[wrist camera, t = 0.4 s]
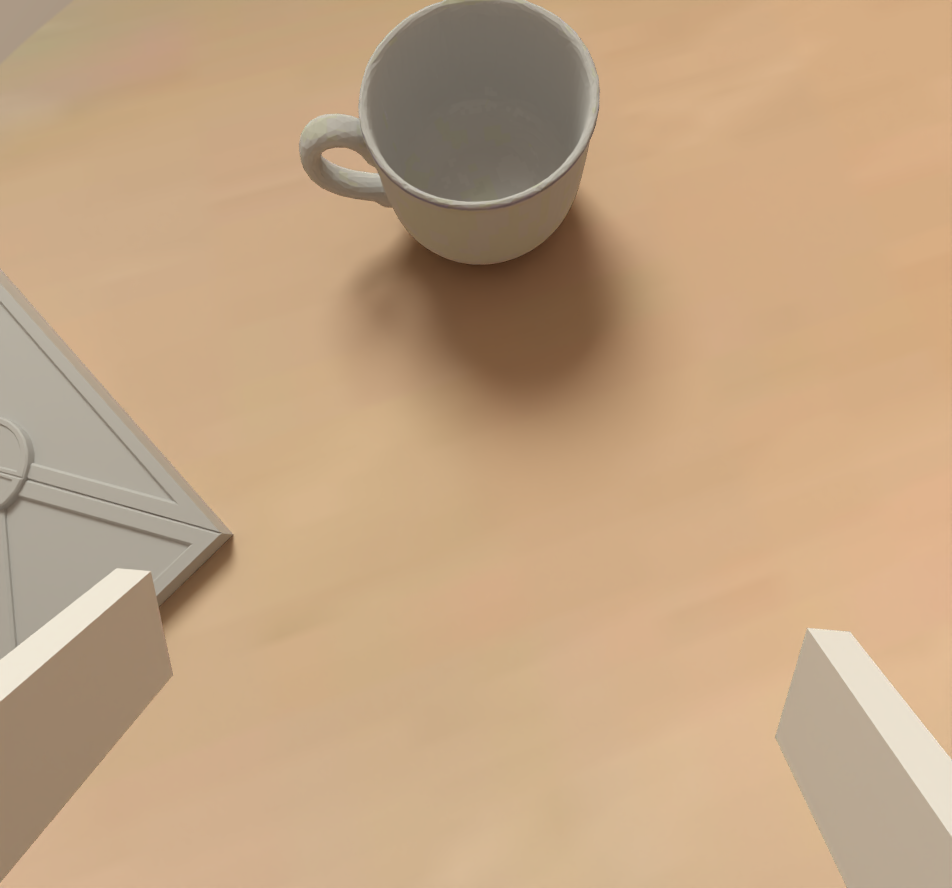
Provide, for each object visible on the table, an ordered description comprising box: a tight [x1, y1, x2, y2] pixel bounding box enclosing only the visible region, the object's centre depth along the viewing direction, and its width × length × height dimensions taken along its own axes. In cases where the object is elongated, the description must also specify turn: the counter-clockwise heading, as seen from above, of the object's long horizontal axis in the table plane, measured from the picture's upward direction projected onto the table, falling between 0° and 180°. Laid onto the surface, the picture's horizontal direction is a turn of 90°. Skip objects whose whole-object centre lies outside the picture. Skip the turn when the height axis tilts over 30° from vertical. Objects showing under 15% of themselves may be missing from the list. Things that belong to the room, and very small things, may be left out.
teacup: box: [299, 0, 600, 265], centre depth 28 cm, size 14×11×8 cm
